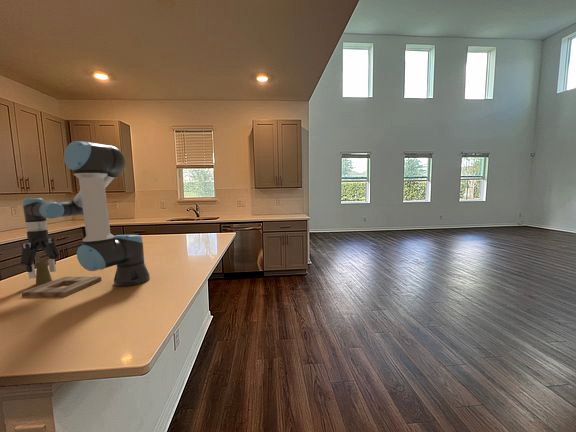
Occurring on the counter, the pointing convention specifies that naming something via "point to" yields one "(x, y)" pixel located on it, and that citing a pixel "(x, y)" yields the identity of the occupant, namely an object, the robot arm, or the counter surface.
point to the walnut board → (53, 291)
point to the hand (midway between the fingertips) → (43, 274)
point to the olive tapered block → (42, 272)
